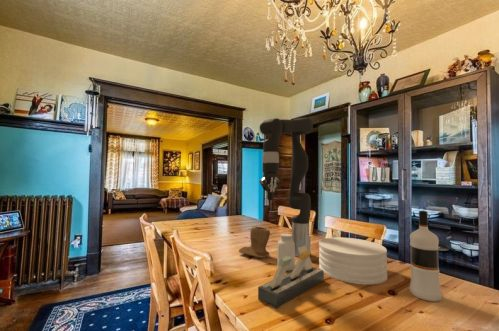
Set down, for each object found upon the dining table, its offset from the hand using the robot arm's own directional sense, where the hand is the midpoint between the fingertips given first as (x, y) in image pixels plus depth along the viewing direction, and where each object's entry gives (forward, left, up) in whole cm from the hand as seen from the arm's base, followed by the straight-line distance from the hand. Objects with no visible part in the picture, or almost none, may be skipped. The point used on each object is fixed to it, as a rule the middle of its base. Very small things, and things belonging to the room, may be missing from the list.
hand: (270, 200), depth 107 cm
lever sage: (+15, +21, -26) cm, 37 cm away
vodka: (-32, +48, -31) cm, 66 cm away
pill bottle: (-8, +2, -31) cm, 32 cm away
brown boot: (-7, -20, -31) cm, 38 cm away
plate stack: (-31, +20, -31) cm, 48 cm away
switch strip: (+4, +19, -31) cm, 37 cm away
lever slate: (-7, +17, -26) cm, 32 cm away
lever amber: (+4, +19, -26) cm, 33 cm away
